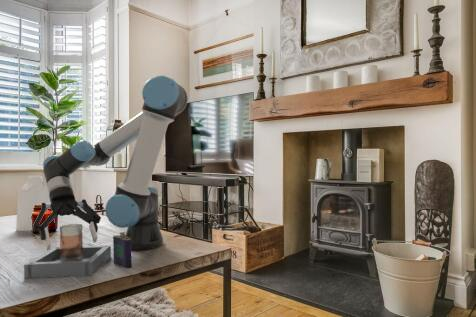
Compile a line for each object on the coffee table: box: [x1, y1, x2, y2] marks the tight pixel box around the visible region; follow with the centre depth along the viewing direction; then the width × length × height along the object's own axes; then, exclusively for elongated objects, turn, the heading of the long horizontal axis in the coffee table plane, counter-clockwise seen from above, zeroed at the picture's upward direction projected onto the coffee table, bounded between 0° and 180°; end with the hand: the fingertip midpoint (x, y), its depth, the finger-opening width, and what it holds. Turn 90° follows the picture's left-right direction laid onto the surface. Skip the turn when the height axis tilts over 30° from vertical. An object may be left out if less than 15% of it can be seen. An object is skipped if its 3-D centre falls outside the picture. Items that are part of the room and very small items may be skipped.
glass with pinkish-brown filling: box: [59, 223, 84, 261], centre depth 108 cm, size 6×6×12 cm
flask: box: [112, 231, 133, 269], centre depth 109 cm, size 9×3×11 cm, turn 48°
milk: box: [15, 175, 51, 232], centre depth 167 cm, size 12×12×26 cm
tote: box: [23, 244, 112, 279], centre depth 107 cm, size 19×19×4 cm
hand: (73, 243), depth 106 cm, fingers open, 13 cm apart
